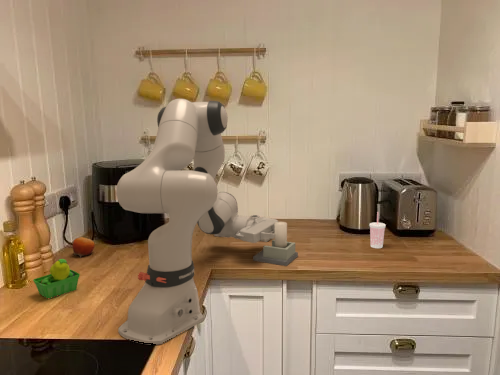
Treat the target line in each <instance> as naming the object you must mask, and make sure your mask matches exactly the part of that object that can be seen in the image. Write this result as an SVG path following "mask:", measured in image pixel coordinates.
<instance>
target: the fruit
mask: <svg viewBox="0 0 500 375" xmlns="http://www.w3.org/2000/svg"><path fill="white" fill-rule="evenodd" d="M71 247H72V251H73V255H74V256H79V258H80V259H81V258H82V257H83V256H88V255H89V256H90V255H91V254H92V252H94V251H93V250H94V249H95V241H94V240H92V239H90V238H87V237H82V236H80V237H76V238H75V239H74V240H73V242H72V246H71Z"/></svg>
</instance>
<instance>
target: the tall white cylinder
mask: <svg viewBox="0 0 500 375" xmlns="http://www.w3.org/2000/svg"><path fill="white" fill-rule="evenodd" d="M274 240H275V247H279V248H286V247H287V242H288V223H287V222H286V221H278V222H275V238H274Z"/></svg>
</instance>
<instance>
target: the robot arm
mask: <svg viewBox="0 0 500 375" xmlns="http://www.w3.org/2000/svg"><path fill="white" fill-rule="evenodd" d="M228 117H229V116H228V113H227V110H226V107H225V105H224V104H223V103H222V102H220V101H217V100H209V101H190V100H188V99H185V98H176V99H172V100H170V102H168V104H167V105H166V106H164V107H162V108H160V110H159V112H158V114H157V119H156V120H157V121H156V122H157V127H158V128H157V132H156V137H155V140H154V144H153V147H152V149H151V151H150V152H149V155H148V156H147V157H146V158H145V159H144V160H143V161H142V162H141V163H140V164H139V165H137V166H136V167H134V169H132V170H130V171H127V172H126V173H125V174H123V175H122V176H121V177H120V179H119V180H118V182H117V185H116V190H115V192H116V194H115V195H116V199H117V202H118V203H119V206H120V207H122V209H123V210H125V211H129V212H134V213H140V214H166V215H168V218H169V219H168V222H167V223H165V224H163V225H161V226H159V227H157V228H156V229H154V230H152V232H151V233H150V234H149V236H148V239H147V244H148V246H147V247H148V263H149V264H148V266H147V270H146V272H143V271H140V272H138V275H137V279H138V280H139V281H143V282H144V284H143V286H142V287H141V289H140V290H139V291H138V293H137V294H136V296H135V298H134V299H133V300H132V302H131V303H130V304H129V307H128V310H127V320H126V321H125V322H123V323H122V324H121V325H120V326H119V327H118V329H117V331H118V334H119V335H120V336H122V337H123V338H124V339H127V340H128V339H130V340H129V341H131V340H134V341H139V342H144V343H153V344H156V345H162V344H164V343H166V342H168V341H169V339H170V340H172V339H174V338H175V337H177V336H178V334H179V335H181V334H182V333H184V332H186V331H188V330H190V329H192V328H193V327H195V326H196V325H199V324H200V323H202V322H204V319H205V318H204V315H203V313H202V312H201V307H200V300H199V293H198V288H197V286H196V284H195V280H194V277H195V265H194V264H195V263H194V261H193V255H192V254H193V253H192V248H193V247H192V246H193V234H194V231H195V227H196V226H198V228H199V230H201V231H202V232H203V233H204V234H207V235H213V236H214V235H217V236H216V237H220V236H222V237H223V238H234V239H236V240H237V239H238V240H240V241H243V242H248V243H253V244H255V243H258V242H261V241H260V240H261V239H269V238H270V239H271V240H275V233H272V232H274V231H275V222H279V220H278V219H276V218H272V217H266V216H260V215H259V214H253V215H250V216H249V215H239V214H238V213H239V210H238V209H239V208H238V202H237V200H236V197H235V196H234V195H233V194H231V193H229V192H227V191H220V192H218V191H219V190H218V189H219V188H218V185H217V183H216V181H215V180H216V177H217V175H218V172H219V171H220V169H221V168H222V165H223V164H224V161H225V156H226V155H225V154H226V152H225V145H224V141H223V137H222V134H223V133H224V132H225V130H226V129H227V125H228V119H229V118H228ZM192 162H193V170H192V169H191V170H187V169H186V170H184V169H185V168H187V167H188V166H189V165H191V163H192ZM185 330H186V331H185ZM183 331H184V332H183ZM181 332H182V333H181ZM180 333H181V334H180ZM176 335H177V336H176ZM171 338H172V339H171ZM167 340H168V341H167ZM134 341H133V342H134ZM165 341H166V342H165ZM163 342H164V343H163Z"/></svg>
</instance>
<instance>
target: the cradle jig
mask: <svg viewBox="0 0 500 375" xmlns="http://www.w3.org/2000/svg"><path fill="white" fill-rule="evenodd" d="M298 257H299V252H297V251H296V242H292V241H287V247H286V248H279V247H275V239H271V246H270V245H263V248H262V249H261V251H259V252H258V253H256V254H254V255H253V256H252V259H253V262H260V263H265V264H266V263H267V264H272V265H278V266H284V267H287V266H288V265H290V264H291V263H292V262H294V260H295V259H297V258H298Z"/></svg>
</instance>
